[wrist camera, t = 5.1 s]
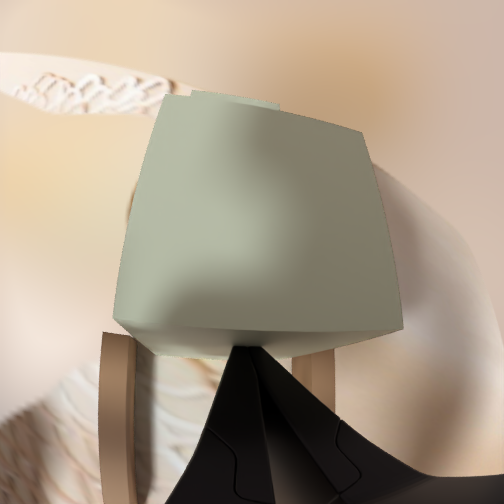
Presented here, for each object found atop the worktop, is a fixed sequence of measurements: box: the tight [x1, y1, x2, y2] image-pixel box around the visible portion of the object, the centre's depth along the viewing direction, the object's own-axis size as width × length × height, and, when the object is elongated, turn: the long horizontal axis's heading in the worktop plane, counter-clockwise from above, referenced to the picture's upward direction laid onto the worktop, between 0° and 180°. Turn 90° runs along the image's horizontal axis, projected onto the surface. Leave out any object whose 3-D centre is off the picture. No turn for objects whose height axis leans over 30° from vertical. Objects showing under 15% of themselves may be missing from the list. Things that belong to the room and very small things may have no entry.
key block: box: [113, 90, 403, 360], centre depth 13 cm, size 16×6×10 cm, turn 0°
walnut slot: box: [98, 332, 335, 504], centre depth 11 cm, size 10×10×2 cm
